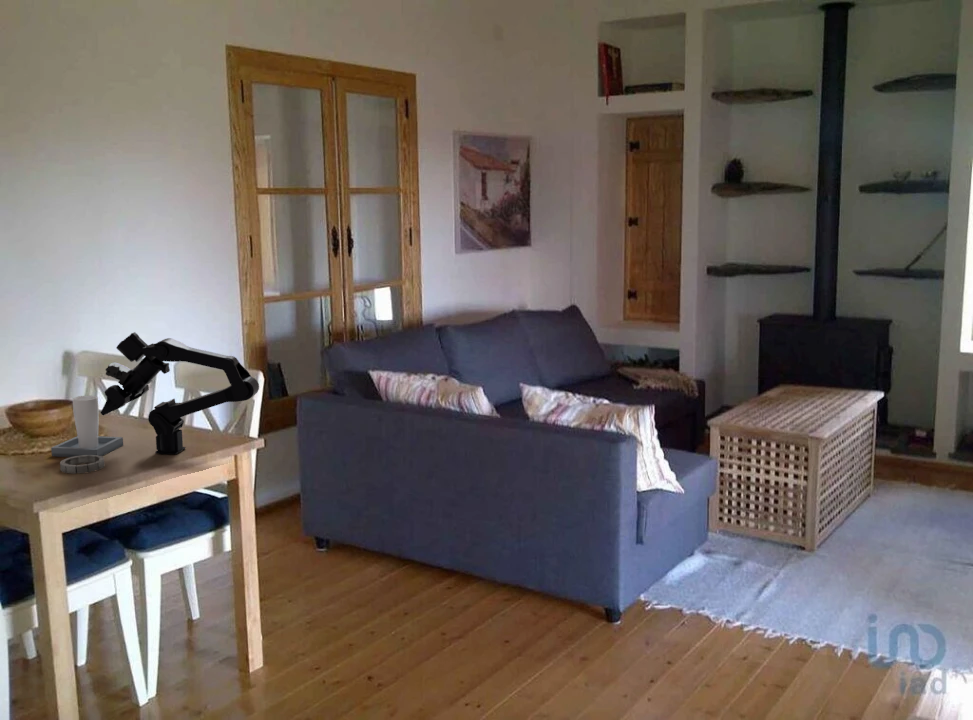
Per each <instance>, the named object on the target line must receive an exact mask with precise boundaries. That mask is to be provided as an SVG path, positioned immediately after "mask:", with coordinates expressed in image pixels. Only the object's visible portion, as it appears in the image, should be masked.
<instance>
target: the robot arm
mask: <svg viewBox="0 0 973 720" xmlns="http://www.w3.org/2000/svg"><path fill="white" fill-rule="evenodd" d="M116 349H117V351H118V352H119V353H121V354H122V355H123V356H124V357H125V358H126V359H127V360H128V361H129V362H130V363H132V362H136V363H137V362H139V361H140V362H139V363H138V364H137V365H136V366H135V367H134V368H133V369H131V368H129V367H127V366H126V365H123V364H121V363H119V362H115V361H113V362H111V363H109V364H108V366H107V367H106V368H105V371H106V372H105V375H106V376H107V377H111V378H113V379H115V380H118V381H117V383H118V384H119V385H118V384H113V385H110V386H109V387H107V388H106V389H105V391H104V394H105V396H106V401H105V402H104V405H103V407H102V409H101V410H100V414H101V416H106V415H107V414H109V413H112V412H114V411H116V410H118V409H121V408H123V407H125V406H126V405H127V404H129V403H130V402H132V401H134V400H136V399H139V398H141V397H142V396H144V395H145V394H147V392H148V391H150V387H149V385H150V384H151V383H152V381H153V379H155V377H156V376H157V375H158V374H159V373H160V372H161V373H163V374H164V375H165V374H167V373H170V371H171V370H170V369H171V368H170V363H169V362H172V363H174V362H185V363H190V364H195V365H199V366H203V367H209V368H212V369H217V370H222V371H223V372H224V373H225V376H226V377H227V380H228V383H229V386H227V387H225V388H222V389H220V390H219V389H218V390H216V391H212V392H209V393H207V394H204V395H201V396H197V397H195V398H192V399H188V400H185V401H182V402H176V399H175V398H172V399H170V400H169V401H161V402H160V403H158V404H156V405H154V407H153V409H152V410H151V411H149V414H148V416H147V417H148V418H147V419H148V423H149V425H150V426H152V428H153V429H154V432H155V434H156V436H155V445H156V446H155V449H156V450H155V454H158V455H159V454H161V455H177V454H179V453H181V452H183V451H184V450H186V449H185V448H186V446H184V443H183V429H182V428H183V426H184V423H185V420H184V419H182V418H183V417H184V416H188V415H191V414H195V413H197V412H201V411H203V410H207V409H209V408H212V407H215V406H220V405H221V404H225V403H237V402H243V401H244V402H245V401H248V400H250V399H251V398H253V397H254V396H255V395H257V394H258V392H259V390H260V384H259V381H258V380H257V379H256V378H254V377H253V376H251V374H250V372H249V371H248V370H247V369H246V368H245V367H244V366H243V365H242V364H241V362H240V361H239V360H238V358H237V357H236V356H234V355H226V354H223V353H222V354H221V353H216V352H212V351H208V350H205V349H204V350H203V349H199V348H194V347H190V346H189V345H186V344H185V343H184V342H181V341H179V340H176V339H174V338H170V337H168V338H164V339H162V340H160V341H157V342H156V343H150V344H148V343H146V342H145V341H144V340H143V339H142V338H141V337H140V336H139V335H138V333H136V331H134V332H131V333H130V334H129V335H128V336H127V337H125V339H123V340H121V341H120V342H119V343H118V344H117V346H116ZM183 449H184V450H183ZM182 450H183V451H182ZM180 451H181V452H180ZM178 452H179V453H178Z"/></svg>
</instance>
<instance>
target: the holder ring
mask: <svg viewBox="0 0 973 720" xmlns="http://www.w3.org/2000/svg"><path fill="white" fill-rule="evenodd" d="M59 466H60V467H59V468H60V472H63V473H64V474H75V475H76V474H77V473H78V474H86V473H85V472H88V473H92V472H91V471H93V472H96V471H95V470H97V471H100V470H101V468H102V469H103V468H105V457H104V456H99V455H81V456H74V457H65V459H62V460H61V461H60V462H59ZM99 469H100V470H99Z"/></svg>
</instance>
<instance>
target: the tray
mask: <svg viewBox="0 0 973 720" xmlns="http://www.w3.org/2000/svg"><path fill="white" fill-rule="evenodd" d="M98 444H99V445H98V447H97V448H79V444H78V437H77V436H74V437H73V438H70V439H68V440H66V441H64V442H63V441H62V442H61V443H59V444H56V445H54V446H51V448H50V451H51V457H59V458H60V457H63V458H64V457H65V458H70V457H74V456H81V455H99V456H102V457H104V456H105V455H108V454H109V453H111V452H113V451H115V450H117V449H119V448H121V447H123V446H124V437H122V436H102V435H101V436H100V435H98Z"/></svg>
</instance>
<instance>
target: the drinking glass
mask: <svg viewBox="0 0 973 720" xmlns="http://www.w3.org/2000/svg"><path fill="white" fill-rule="evenodd" d="M99 406H100V405H99V397H98V396H96V395H93V394H91V395H78V396H75V397H72V410H73V418H74V424H75V429H76V435H77V437H78V444H79V448H97V447H98V445H99V444H98V436H99V422H100V421H99V419H100V418H99V416H100V415H99V414H100V413H99V412H100V411H99Z"/></svg>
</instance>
